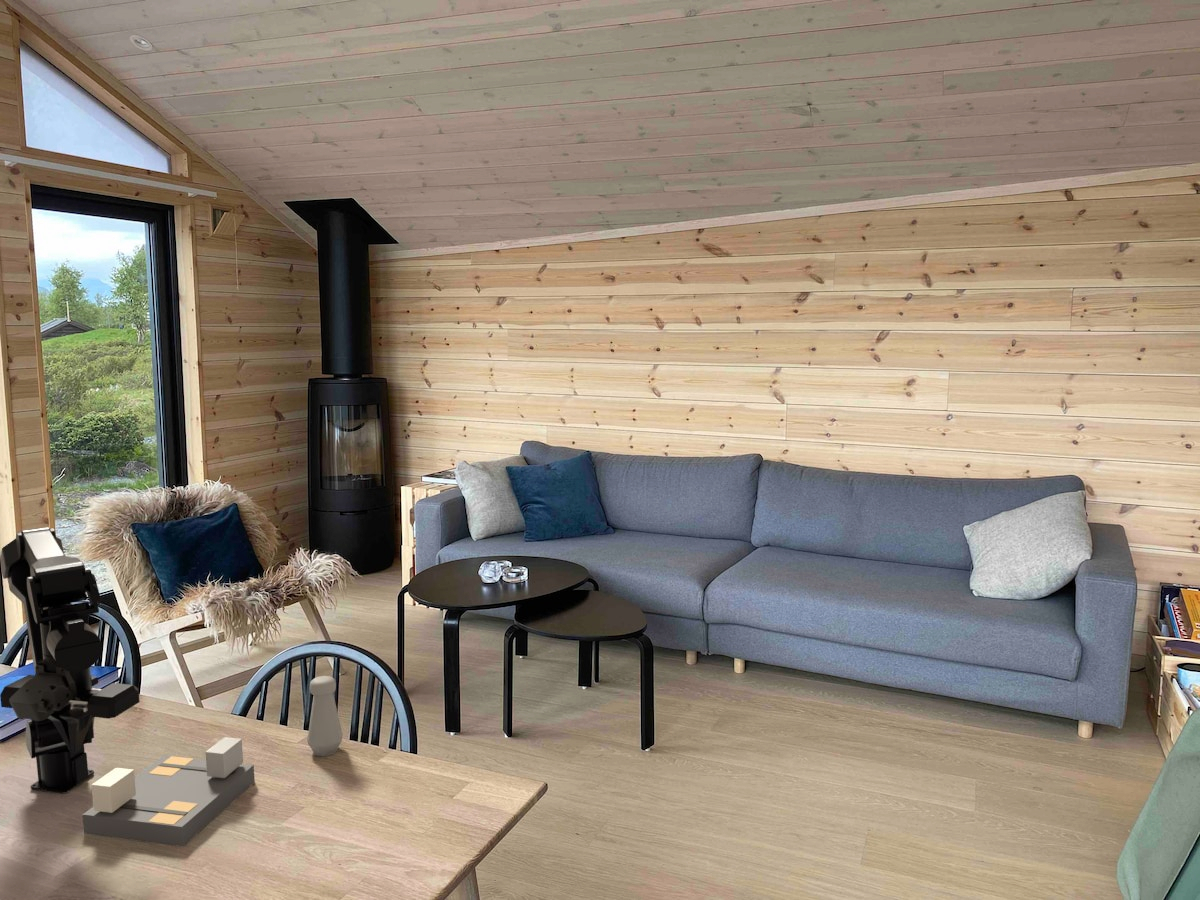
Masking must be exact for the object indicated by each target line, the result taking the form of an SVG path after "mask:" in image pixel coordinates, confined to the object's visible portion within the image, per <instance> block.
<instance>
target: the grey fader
mask: <svg viewBox="0 0 1200 900" xmlns="http://www.w3.org/2000/svg"><path fill="white" fill-rule="evenodd" d="M242 739H243V738H237V737H236V738H234V737H226V736H224V737H223V738H221V739H220V740H219V741H218V742H216V743H215V744H214V745H213V746H210V748H209V749H207V750H206V751H205V760H206V767H207V776H210V777H219V778H225V777H227V776H228V775H229V774H230V773H231V772H233V771H234V770H235V769H236V768H237V767H238V766H240V765H241V764H244V752H243V740H242Z"/></svg>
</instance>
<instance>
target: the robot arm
mask: <svg viewBox="0 0 1200 900" xmlns="http://www.w3.org/2000/svg"><path fill="white" fill-rule="evenodd" d="M0 553H1V554H0V568H1V575H2V578H3V579H7V583H8V590H9V591H10V593H12V594H13V595H14V596H15V597H16V598H17V599H18V600H19V601H20V602H21V603H22V604H23V609H24V615H25V622H26V627H27V633H28V634H27V635H28V639H29V645H30V651H31V658H32V664H33V670H34V674H28V675H26V676H24V677H22V678H19V679H17V680H15V681H12V682H11V683H9V684H7V685H6V686H4V687H3V689H2V691H1V692H0V706H1V708H6V709H8V708H9V709H12V710H13V711H14V714H15V716H16V717H17V719H19V720H24V719H26V724H25V726H26V727H25V735H24V736H25V737H24V738H25V742H26V743H25V744H26V750H27V751H28V753H29V757H30V758H31V759H36V772H37V781H35V783H32V784H31V785H30V789H31V790H33V791H41V792H49V793H50V792H51V793H59V794H65V793H68V792H70V791H71V790H73V789H74V788H75V787H77V786H79V785H80V784H81V783H83V782H85V781H86V780H87V779H89V778H90V777H92V776H93V775H94V774H95V771H94V770H93V769H89V766H88V765H89V763H88V755H87V752H85V745H86V744H91V743H93V741H92V739H94V738H95V734H94V731H95V730H94V724H95V718H99V719H108V720H110V719H113V718H116V717H118V716H120V715H121V714H123V713H125V712H126V711H127V710H129V709H131V708H132V707H134V706H136V705H137V704H138V703H140V693H139V688H138V687H137V686H135V685H134V684H126V683H118V682H117V683H115V682H112V683H110V684H109V685H107V686H104V688H92V687H94V686H96V685H98V684H99V677H98V676H97V675H94V676H93V675H92V672H91V670H92V669H91V667H92V666H94V665H95V664H96V663H97V662H98V660H99V659H100V657H101V655H102V653H103V643H102V641H101V638H100V637H99V636H98V635H97V633H96V631H95V630H94V629H93V628H92V627H91V625H90V624H89V620H88V615H92V614H98V613H100V609H99V605H100V604H101V601H102V598H101V594H100V591H99V587H98V584H97V583H98V582H97V579H96V576H95V574H94V573H92V569H91V568H90V567H86V566H85V563H84V562H83V561H82V560H81V559H80V558H78V557H72V556H66V554H65V551H64V546H63V541H62V539H61V538H59V537H57V536H56V531H55V529H54V527H48V526H45V527H35V528H28V529H22V530H20V531H18V532H16V535H15V538H14V539H13V540H12V541H10V542H9V543H8V544H7V543H6V545H4V546H3V547H1V552H0ZM87 600H88V601H87ZM84 601H85V602H84Z"/></svg>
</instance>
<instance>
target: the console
mask: <svg viewBox="0 0 1200 900" xmlns="http://www.w3.org/2000/svg"><path fill="white" fill-rule="evenodd" d="M134 776H135V788H136V795H135V796H134V797H132V798H131V799H130V800H128V801H127V802H126V803H124V804H123V805H122V806H120V807H119V808H118V809H117V810H115V811H114V812H113V813H110V812H102V811H94V807H93V806H92V807H91V808H89V809H88V810H87V811H85V812H84V813H82V822H83V823H82V824H83V834H84V835H90V834H91V835H90V836H98V837H99V836H100V837H106V838H114V839H124V840H128V841H129V840H131V841H139V842H144V843H145V842H147V843H153V844H159V845H160V844H162V845H169V846H176V847H184V846H186V845H187V844H188V843H190V841H191V840H193V838H195V837H196V836H197V835H198V834H199V833H201V831H203V830H204V829H205V828H206V827H207V826H208V825H209V824H210V823H211V822H213V821H214V820H215V819H216V818H217V817H219V815H220V814H222V812H224V811H225V810H226V809H227V808H228V807H229V806H231V804H233V802H235V801H236V800H237V799H238V798H240V796H241V795H242V794H244V793H245V791H247V790H248V789H249V788H251V786H253V785H254V784H255V782H256V781H255V765H254V764H248V763H242V764H241V765H240V766H238V767H237V768H236V769H235V770H234V771H233V772H231V773H230V774H229V775H228V776H227V777H225V778H219V777H210V776H207V767H206V759H204V758H203V759H202V758H195V757H184V756H175V755H168V754H167V755H165V754H164V755H163V756H161V757H160V758H159V759H157V760H156V761H154V762H153V763H151V764H150V765H148V767H146V768H145V769H143V770H142V771H141V772H139V773H138V774H137V775H134Z"/></svg>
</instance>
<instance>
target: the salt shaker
mask: <svg viewBox="0 0 1200 900" xmlns="http://www.w3.org/2000/svg"><path fill="white" fill-rule="evenodd" d="M336 689H337V682H336V679H335V678H333V677H332V676H330V675H321V676H317V677H314V678H313V679H312V680H310V682H309V692H310V694H311V695H313V696H312V703H311V712H310V717H309V726H308V732H307V745H308V746H309V748H310V749H311V750H312V751H313V754H314V755H315V756H316V757H317V756H318V757H328V756H331V755H334V754H335V755H336V753H337V751H338V749H339V747H340V745H341V743H342V740H343V730H342V726H341V721H340V716H339V714H338V712H339V711H338V708H337V704H336V699H335V695H334V692H336Z"/></svg>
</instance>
